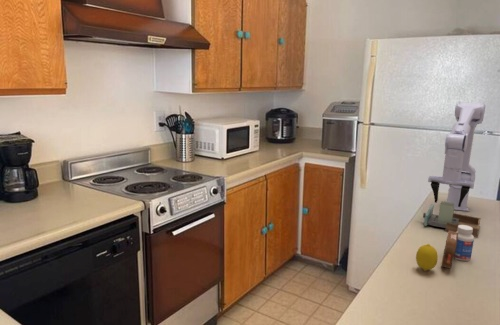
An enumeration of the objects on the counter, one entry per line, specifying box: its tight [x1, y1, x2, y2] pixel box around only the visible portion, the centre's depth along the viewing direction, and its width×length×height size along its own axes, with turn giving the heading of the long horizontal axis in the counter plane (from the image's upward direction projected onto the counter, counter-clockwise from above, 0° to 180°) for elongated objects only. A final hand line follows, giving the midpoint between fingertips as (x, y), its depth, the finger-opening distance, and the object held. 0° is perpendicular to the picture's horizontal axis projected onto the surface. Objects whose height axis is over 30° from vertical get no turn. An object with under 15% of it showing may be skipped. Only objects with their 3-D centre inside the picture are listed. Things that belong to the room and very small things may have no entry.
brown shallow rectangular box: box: [444, 212, 482, 239], centre depth 142 cm, size 13×10×3 cm
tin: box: [441, 230, 458, 269], centre depth 115 cm, size 15×3×8 cm, turn 151°
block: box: [437, 201, 455, 224], centre depth 143 cm, size 4×4×7 cm
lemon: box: [415, 243, 439, 272], centre depth 110 cm, size 6×6×8 cm
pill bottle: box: [453, 225, 475, 262], centre depth 119 cm, size 6×5×10 cm
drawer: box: [422, 204, 459, 229], centre depth 146 cm, size 15×11×4 cm
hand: (447, 204), depth 142 cm, fingers open, 7 cm apart
